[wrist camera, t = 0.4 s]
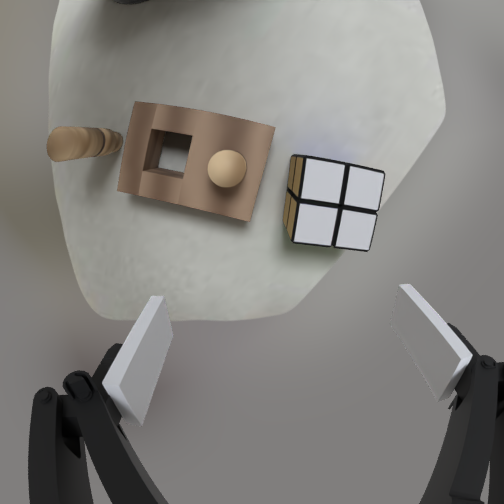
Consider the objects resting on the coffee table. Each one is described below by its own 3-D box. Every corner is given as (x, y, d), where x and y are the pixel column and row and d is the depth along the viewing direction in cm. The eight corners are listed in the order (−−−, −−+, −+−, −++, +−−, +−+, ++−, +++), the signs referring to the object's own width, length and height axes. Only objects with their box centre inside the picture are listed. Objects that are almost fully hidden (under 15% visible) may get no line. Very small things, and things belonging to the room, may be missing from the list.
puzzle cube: (356, 165, 37) (387, 171, 28) (345, 229, 41) (370, 253, 31) (291, 153, 37) (303, 154, 27) (282, 221, 40) (290, 244, 31)
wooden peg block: (134, 184, 38) (102, 196, 29) (151, 107, 34) (121, 96, 25) (250, 211, 40) (249, 231, 30) (272, 131, 35) (278, 124, 26)
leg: (101, 134, 35) (44, 134, 22) (122, 125, 35) (68, 120, 22) (106, 158, 36) (50, 166, 23) (127, 150, 36) (74, 154, 23)
